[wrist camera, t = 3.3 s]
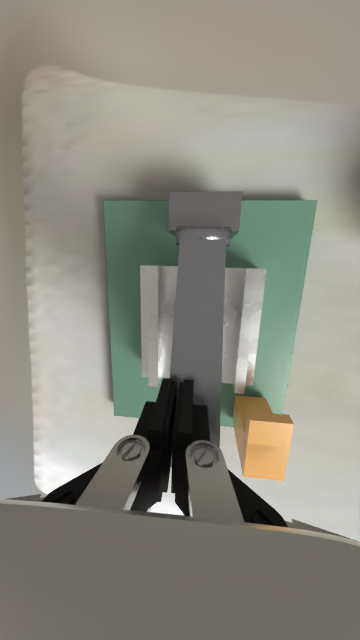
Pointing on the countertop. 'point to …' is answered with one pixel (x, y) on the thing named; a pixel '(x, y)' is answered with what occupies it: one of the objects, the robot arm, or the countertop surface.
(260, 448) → the block
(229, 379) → the heat sink
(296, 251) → the circuit board
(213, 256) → the strap
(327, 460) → the countertop surface
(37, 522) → the robot arm
